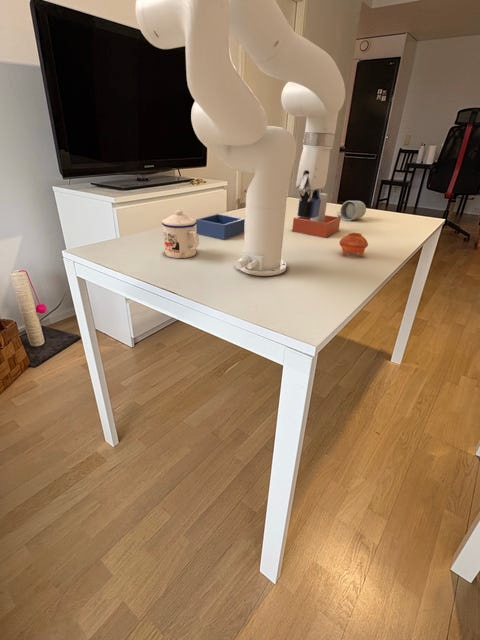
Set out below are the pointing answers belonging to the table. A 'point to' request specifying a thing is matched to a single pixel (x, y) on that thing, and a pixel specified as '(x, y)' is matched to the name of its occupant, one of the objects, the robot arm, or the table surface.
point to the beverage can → (321, 209)
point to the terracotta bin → (316, 226)
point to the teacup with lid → (180, 235)
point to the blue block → (313, 207)
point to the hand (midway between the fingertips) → (308, 214)
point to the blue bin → (220, 226)
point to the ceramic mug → (352, 210)
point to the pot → (353, 243)
